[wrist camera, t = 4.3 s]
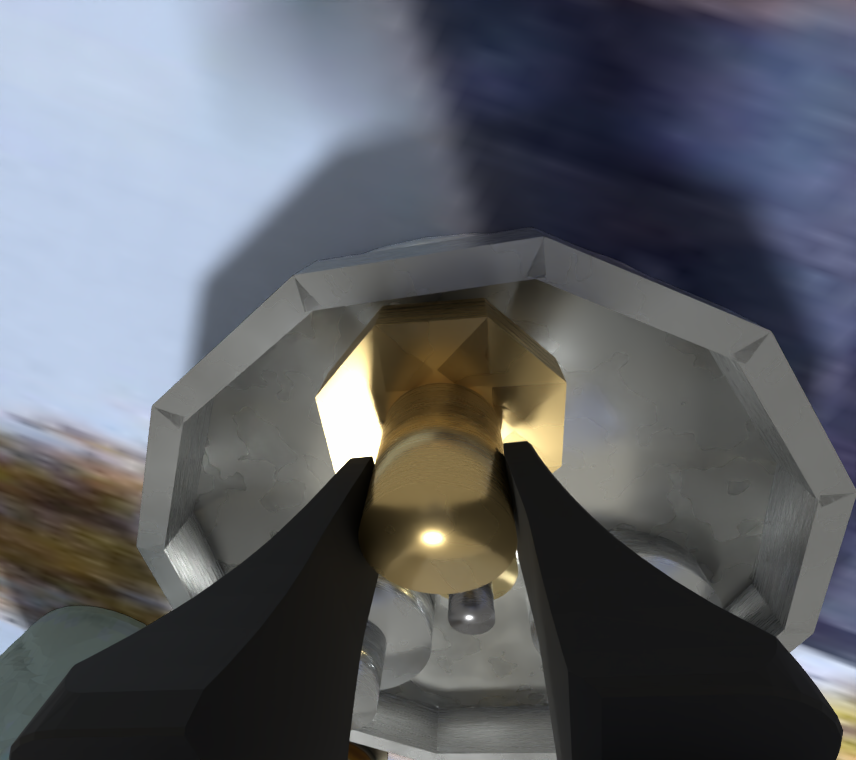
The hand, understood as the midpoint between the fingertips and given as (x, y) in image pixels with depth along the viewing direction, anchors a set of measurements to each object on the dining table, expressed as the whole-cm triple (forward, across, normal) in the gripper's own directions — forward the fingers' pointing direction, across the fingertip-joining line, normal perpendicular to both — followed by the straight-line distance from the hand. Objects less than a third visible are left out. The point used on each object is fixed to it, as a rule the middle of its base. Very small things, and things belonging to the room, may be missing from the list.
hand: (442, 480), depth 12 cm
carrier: (+5, 0, +6) cm, 8 cm away
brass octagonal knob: (+3, 0, -1) cm, 3 cm away
